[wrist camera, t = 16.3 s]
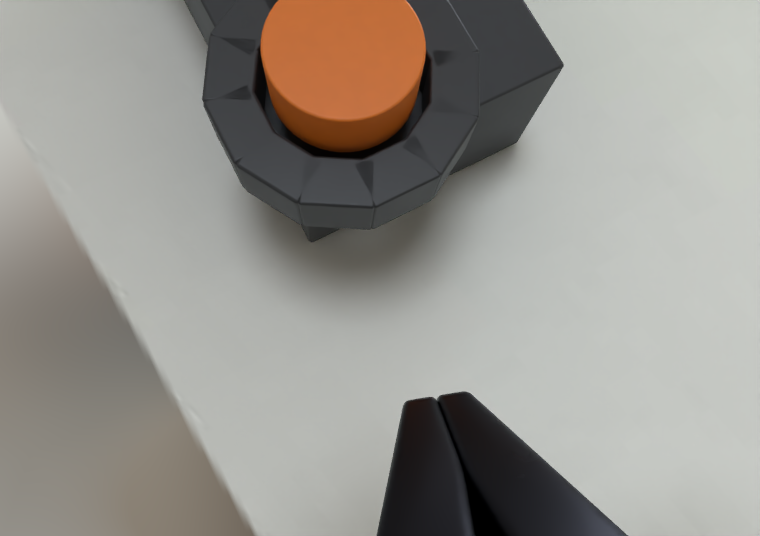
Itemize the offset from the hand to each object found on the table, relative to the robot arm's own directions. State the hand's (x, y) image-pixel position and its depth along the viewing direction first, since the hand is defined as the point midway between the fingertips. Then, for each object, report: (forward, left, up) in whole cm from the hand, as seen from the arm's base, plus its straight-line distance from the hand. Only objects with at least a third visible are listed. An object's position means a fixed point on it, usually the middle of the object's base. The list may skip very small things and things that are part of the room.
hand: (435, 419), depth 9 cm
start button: (+3, +8, -6) cm, 10 cm away
